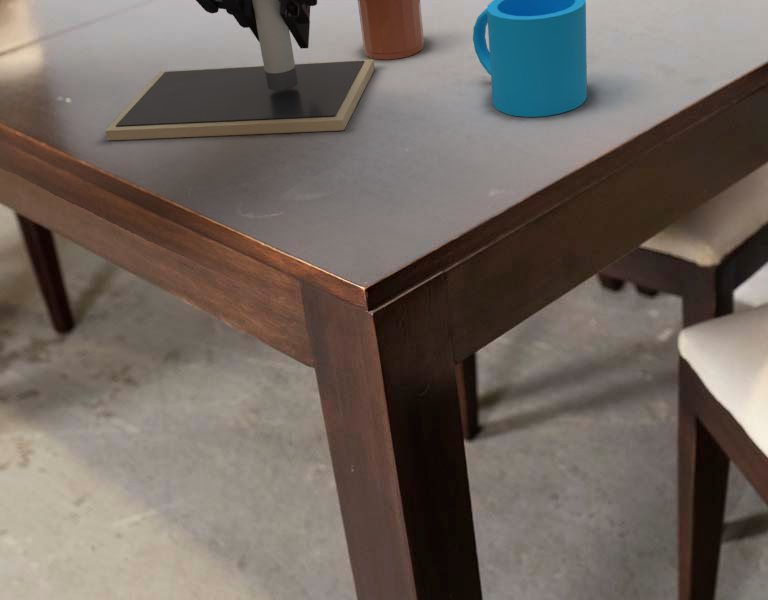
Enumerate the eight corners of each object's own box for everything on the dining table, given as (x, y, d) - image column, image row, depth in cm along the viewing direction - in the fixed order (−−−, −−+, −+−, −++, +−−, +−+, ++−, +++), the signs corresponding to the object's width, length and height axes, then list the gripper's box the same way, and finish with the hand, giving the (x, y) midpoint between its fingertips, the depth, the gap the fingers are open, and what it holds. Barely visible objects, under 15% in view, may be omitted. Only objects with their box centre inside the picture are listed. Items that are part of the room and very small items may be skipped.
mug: (607, 94, 95) (607, -2, 90) (539, 124, 91) (535, 25, 87) (511, 67, 103) (506, -23, 99) (444, 93, 100) (436, 2, 95)
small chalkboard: (107, 140, 100) (104, 128, 99) (162, 80, 112) (159, 69, 111) (344, 130, 95) (342, 117, 95) (375, 69, 107) (373, 57, 107)
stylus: (264, 91, 101) (239, -45, 94) (272, 80, 103) (248, -53, 96) (293, 90, 100) (270, -47, 94) (301, 79, 103) (279, -56, 96)
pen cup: (359, 61, 110) (348, -22, 105) (370, 41, 114) (360, -39, 110) (419, 57, 108) (411, -26, 104) (427, 37, 113) (420, -43, 109)
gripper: (89, -60, 81) (204, 78, 104) (296, -78, 78) (368, 69, 101) (97, -153, 83) (209, 4, 105) (301, -174, 79) (371, -8, 102)
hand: (287, 35), depth 103 cm, fingers closed on stylus, 3 cm apart
